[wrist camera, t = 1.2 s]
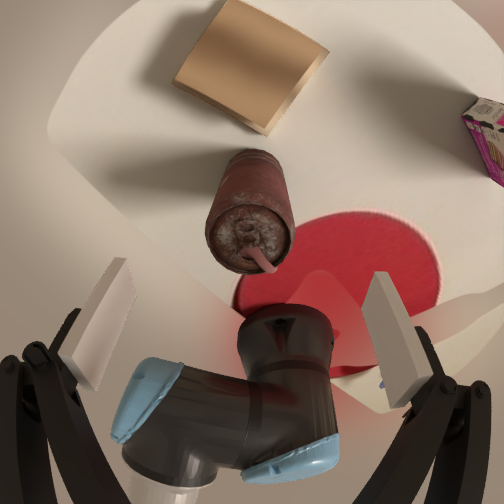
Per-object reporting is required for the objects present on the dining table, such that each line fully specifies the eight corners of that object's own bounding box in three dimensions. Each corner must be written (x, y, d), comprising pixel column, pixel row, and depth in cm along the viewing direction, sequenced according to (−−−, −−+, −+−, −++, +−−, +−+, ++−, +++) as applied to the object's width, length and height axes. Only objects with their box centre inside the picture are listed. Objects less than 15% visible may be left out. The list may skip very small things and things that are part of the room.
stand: (266, 134, 28) (267, 144, 24) (175, 83, 25) (159, 84, 20) (326, 53, 22) (339, 47, 18) (232, -1, 19) (227, -16, 15)
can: (254, 212, 33) (250, 295, 21) (214, 174, 30) (183, 240, 19) (295, 178, 30) (318, 248, 19) (255, 136, 28) (251, 178, 16)
